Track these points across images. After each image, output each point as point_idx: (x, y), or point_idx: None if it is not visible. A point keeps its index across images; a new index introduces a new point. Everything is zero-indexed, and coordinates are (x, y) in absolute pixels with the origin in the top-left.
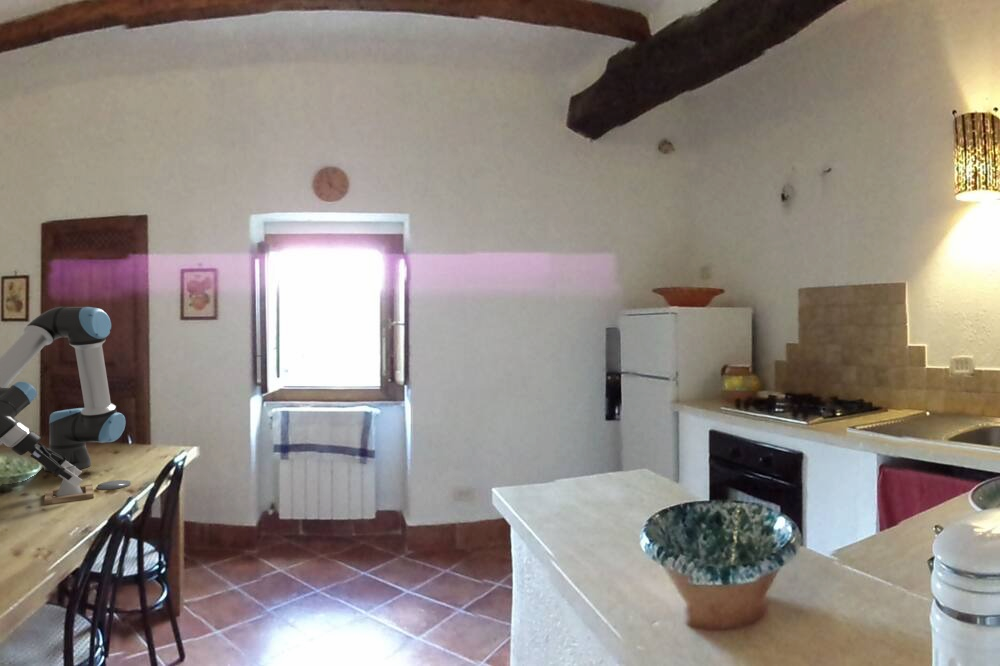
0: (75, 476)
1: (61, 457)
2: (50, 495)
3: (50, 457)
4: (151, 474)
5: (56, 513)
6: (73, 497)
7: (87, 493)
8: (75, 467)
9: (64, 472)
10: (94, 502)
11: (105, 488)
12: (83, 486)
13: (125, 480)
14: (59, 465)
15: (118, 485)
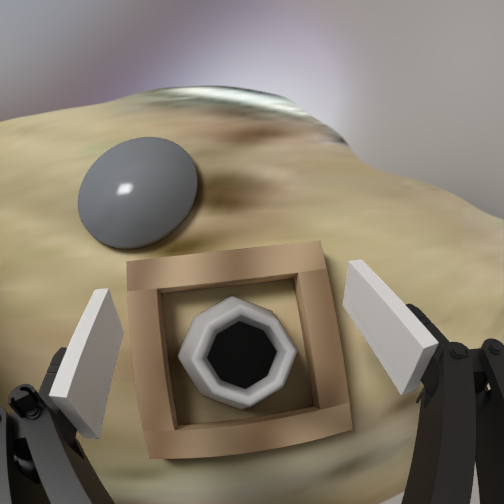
0: (386, 289)
1: (7, 425)
2: (275, 427)
3: (466, 498)
4: (62, 110)
5: (459, 340)
6: (335, 320)
7: (309, 265)
8: (238, 306)
9: (445, 343)
10: (377, 240)
11: (187, 210)
12: (149, 297)
13: (102, 155)
14: (473, 381)
15: (168, 168)
